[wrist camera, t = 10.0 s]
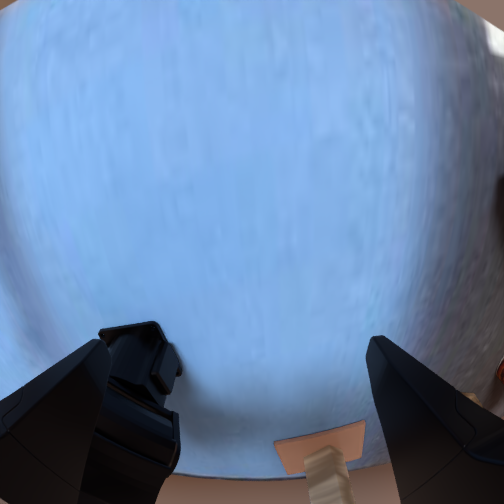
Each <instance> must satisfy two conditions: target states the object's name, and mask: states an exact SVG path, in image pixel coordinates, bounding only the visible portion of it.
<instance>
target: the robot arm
mask: <svg viewBox="0 0 504 504" xmlns="http://www.w3.org/2000/svg"><path fill="white" fill-rule="evenodd" d="M151 326H153V327H155V328H152V327H151ZM103 334H104V335H103ZM98 335H99V337H100V339H92V340H90V341H89V342H87V343H86V344H84V345H83V346H81V347H80V348H78V349H77V350H75V351H74V352H72V353H71V354H69V355H68V356H66V357H65V358H64V359H62V360H61V361H59V362H58V363H56V364H55V365H53V366H52V367H50V368H49V369H47V370H46V371H44V372H43V373H41V374H40V375H38V376H37V377H35V378H34V379H33V380H31V381H30V382H28V383H27V384H25V385H24V386H22V387H21V388H19V389H18V390H17V391H15V392H14V393H12V394H10V395H9V396H7V397H6V398H4V399H2V400H1V401H0V504H155V502H156V499H157V496H158V493H159V491H160V488H161V486H162V485H163V483H164V480H165V479H166V478H168V477H169V475H171V473H172V472H173V471H174V469H175V467H176V465H177V463H178V460H179V457H180V451H181V443H180V430H179V414H178V413H176V412H174V411H170V410H168V409H166V408H164V403H165V399H166V395H170V394H171V392H172V389H173V384H174V380H175V377H179V376H181V374H182V369H181V367H180V365H179V361H178V359H177V357H176V355H175V353H174V351H173V350H172V348H171V346H170V344H169V342H168V341H166V339H165V337H164V335H163V333H162V331H161V329H160V327H159V325H158V323H156V322H155V321H148V322H142V323H136V324H130V325H124V326H118V327H111V328H105V329H101V330H100V331H99V333H98ZM366 363H367V368H368V373H369V378H370V384H371V389H372V394H373V399H374V403H375V406H376V409H377V413H378V416H379V419H380V423H381V426H382V430H383V433H384V437H385V441H386V444H387V448H388V452H389V455H390V459H391V463H392V467H393V471H394V475H395V479H396V484H397V488H398V492H399V497H400V500H401V504H504V420H503V419H501V418H499V417H498V416H496V415H494V414H493V413H491V412H489V411H488V410H486V409H484V408H483V407H481V406H480V405H478V404H476V403H475V402H474V401H472V400H471V399H469V398H468V397H466V396H465V395H464V394H462V393H461V392H460V391H458V390H456V389H455V388H454V387H453V386H451V385H450V384H449V383H447V382H446V381H445V380H443V379H442V378H441V377H439V376H438V375H437V374H435V373H434V372H433V371H431V370H430V369H429V368H427V367H426V366H425V365H423V364H422V363H420V362H419V361H418V360H416V359H415V358H414V357H412V356H411V355H410V354H408V353H407V352H406V351H404V350H403V349H401V348H400V347H399V346H397V345H396V344H395V343H393V342H392V341H391V340H389V339H388V338H386V337H385V336H383V335H379V336H373V337H371V339H370V342H369V345H368V349H367V353H366Z"/></svg>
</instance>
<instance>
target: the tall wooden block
mask: <svg viewBox="0 0 504 504" xmlns="http://www.w3.org/2000/svg"><path fill="white" fill-rule="evenodd" d="M303 459H304V465H305V471H306V478H307V484H308V491H309V497H310V503H311V504H356V503H355V499H354V495H353V491H352V487H351V482H350V479H349V475H348V471H347V467H346V463H345V459H344V455H343V451H342V450H341V449H339V448H336V447H334V446H331V445H328V446H326V447H324V448H322V449H320V450H318V451H315V452H313V453H311V454H309V455H307V456H305V457H303Z"/></svg>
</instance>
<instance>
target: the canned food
mask: <svg viewBox="0 0 504 504" xmlns="http://www.w3.org/2000/svg"><path fill="white" fill-rule="evenodd" d="M496 375H497V376H498V378H499V379H500V380H501V382H502V383H503V384H504V357H503V358H502V360H501V361H500V363H499V365H498V367H497V370H496Z"/></svg>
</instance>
